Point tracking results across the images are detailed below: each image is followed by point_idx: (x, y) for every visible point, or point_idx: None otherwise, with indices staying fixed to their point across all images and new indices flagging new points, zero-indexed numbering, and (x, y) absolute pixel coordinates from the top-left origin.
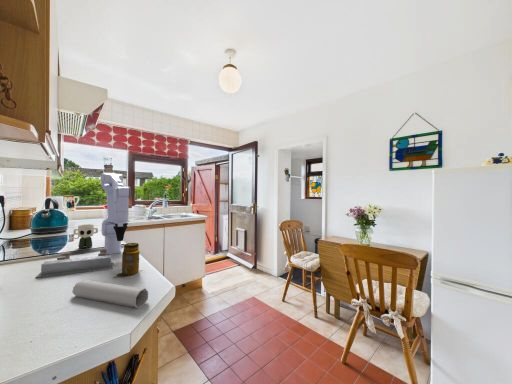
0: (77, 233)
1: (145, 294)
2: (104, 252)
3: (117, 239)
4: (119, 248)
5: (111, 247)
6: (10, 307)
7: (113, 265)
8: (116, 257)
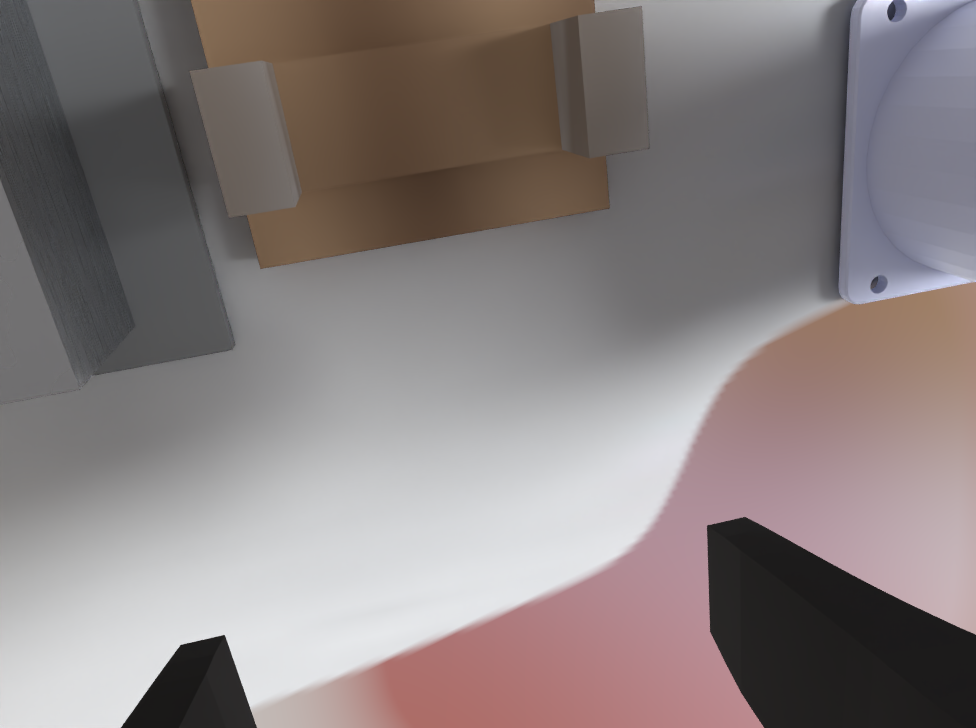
0: None
1: None
2: (569, 114)
3: (147, 696)
4: (966, 278)
5: (952, 158)
6: None
7: None
8: (589, 293)
